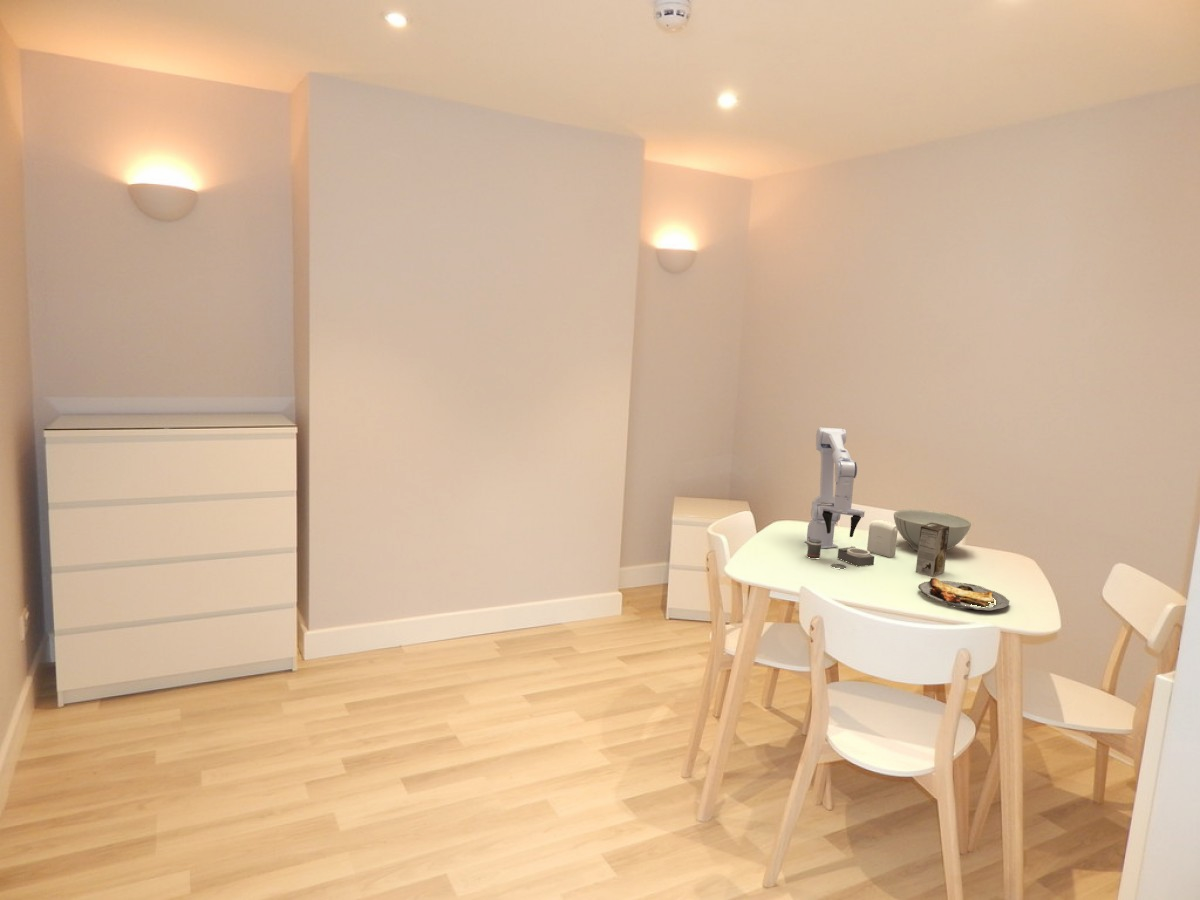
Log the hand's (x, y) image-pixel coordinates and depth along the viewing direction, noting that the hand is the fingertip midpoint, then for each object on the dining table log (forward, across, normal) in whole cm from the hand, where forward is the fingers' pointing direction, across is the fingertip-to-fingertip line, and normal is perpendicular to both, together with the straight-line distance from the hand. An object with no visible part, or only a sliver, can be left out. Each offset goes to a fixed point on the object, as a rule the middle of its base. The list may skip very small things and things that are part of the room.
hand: (839, 534), depth 266 cm
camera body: (+10, +5, +6) cm, 12 cm away
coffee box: (+10, +28, +10) cm, 32 cm away
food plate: (+12, +41, -14) cm, 45 cm away
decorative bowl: (+9, +24, +42) cm, 49 cm away
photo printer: (+10, +10, +22) cm, 26 cm away
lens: (+10, -9, +1) cm, 13 cm away
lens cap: (+10, +2, -5) cm, 12 cm away
